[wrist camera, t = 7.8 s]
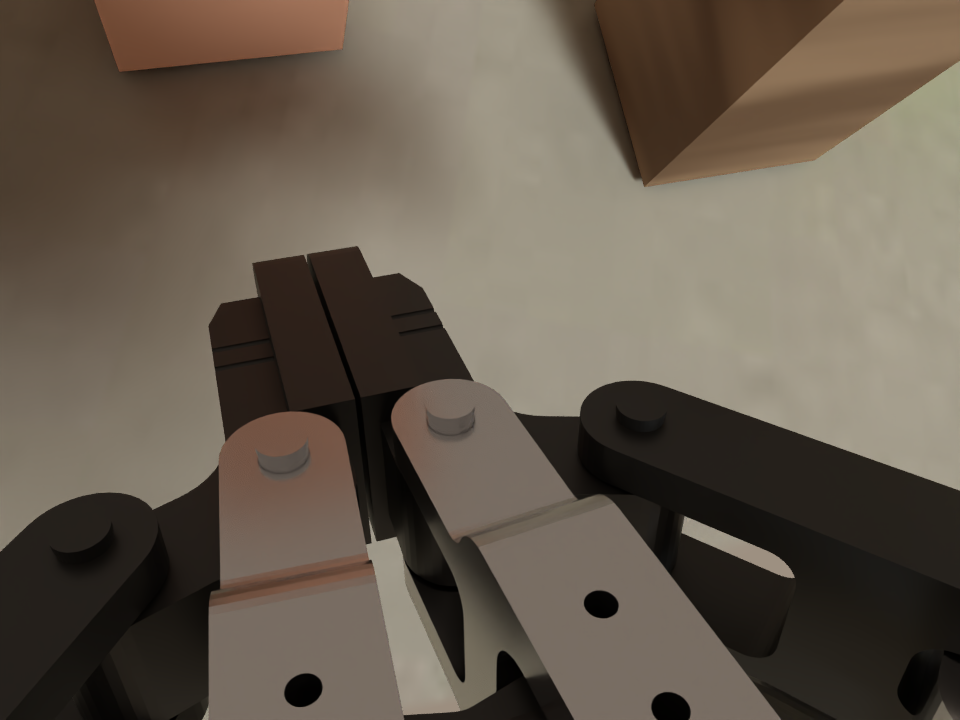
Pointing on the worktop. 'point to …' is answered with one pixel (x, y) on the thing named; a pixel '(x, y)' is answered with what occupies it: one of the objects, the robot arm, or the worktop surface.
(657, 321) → the worktop surface
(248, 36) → the terracotta block
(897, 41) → the walnut block
